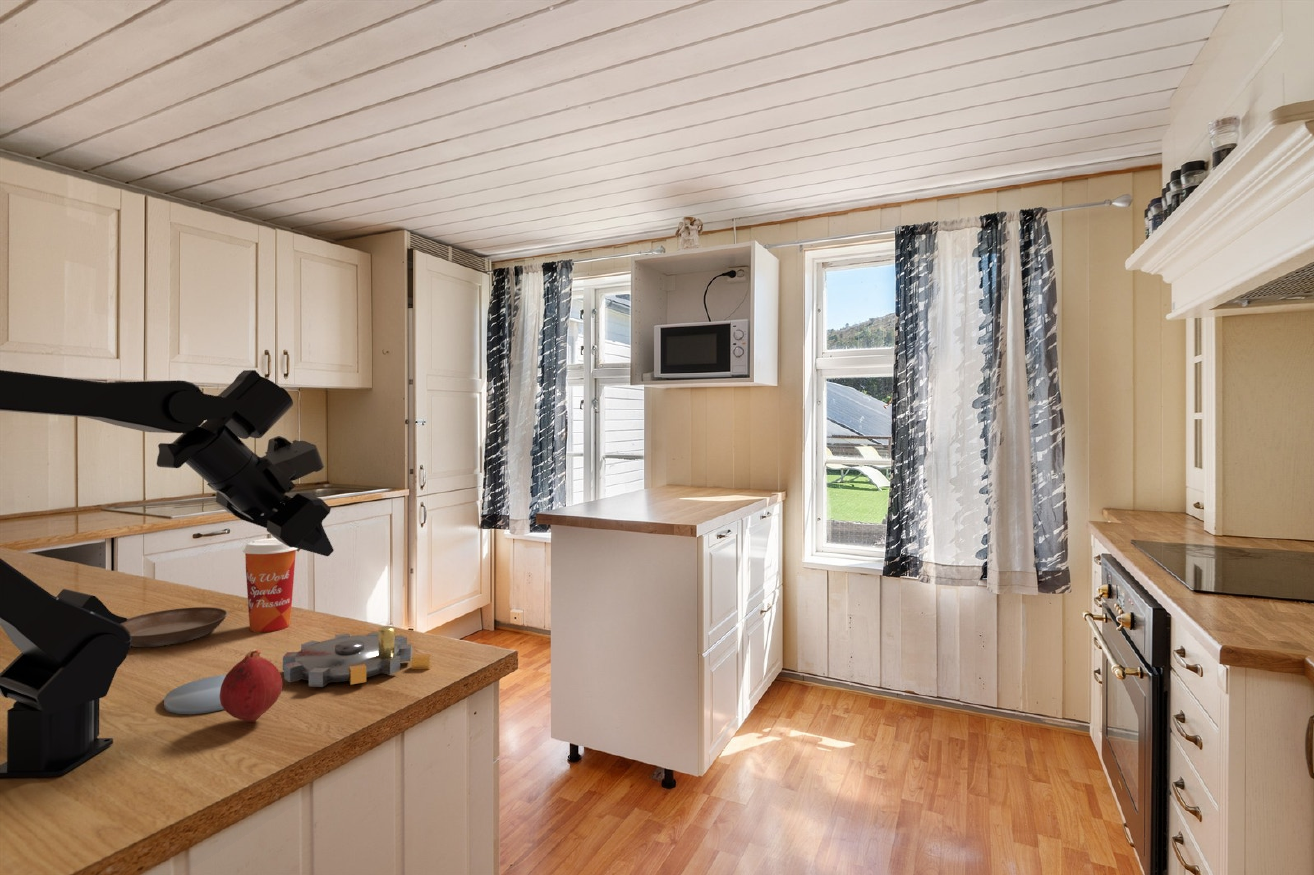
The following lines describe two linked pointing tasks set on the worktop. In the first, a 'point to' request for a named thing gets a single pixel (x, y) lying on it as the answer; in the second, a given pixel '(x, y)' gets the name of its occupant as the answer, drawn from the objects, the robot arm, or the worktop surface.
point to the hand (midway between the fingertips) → (312, 543)
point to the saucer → (173, 625)
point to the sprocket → (347, 658)
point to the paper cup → (269, 584)
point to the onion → (250, 687)
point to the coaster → (196, 696)
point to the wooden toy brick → (422, 661)
